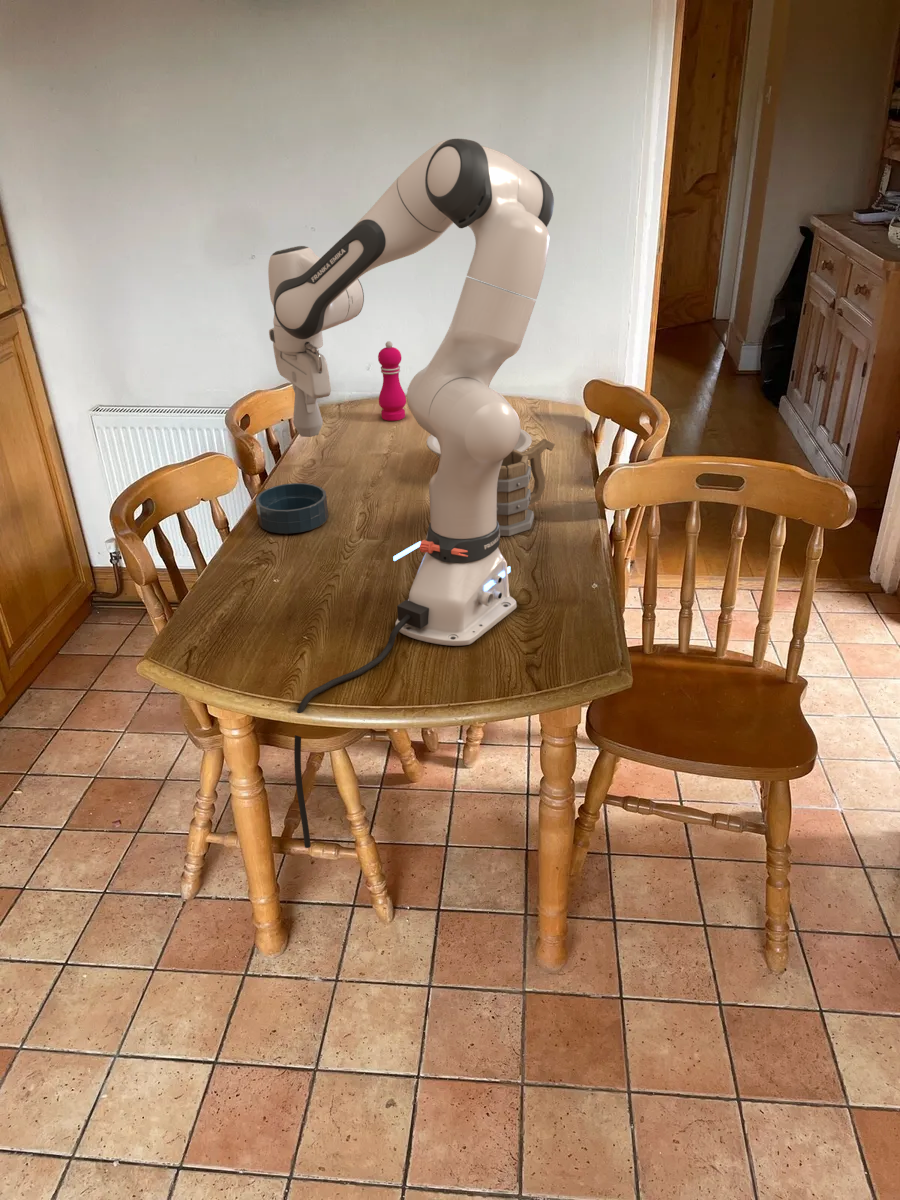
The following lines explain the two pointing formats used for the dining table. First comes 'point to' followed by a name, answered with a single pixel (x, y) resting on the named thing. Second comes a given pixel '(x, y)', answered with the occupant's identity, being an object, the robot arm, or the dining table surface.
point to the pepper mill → (391, 384)
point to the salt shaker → (305, 415)
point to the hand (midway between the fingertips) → (306, 408)
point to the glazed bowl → (292, 508)
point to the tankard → (519, 488)
